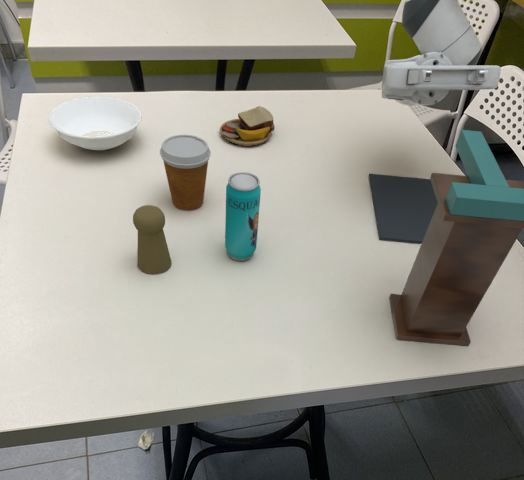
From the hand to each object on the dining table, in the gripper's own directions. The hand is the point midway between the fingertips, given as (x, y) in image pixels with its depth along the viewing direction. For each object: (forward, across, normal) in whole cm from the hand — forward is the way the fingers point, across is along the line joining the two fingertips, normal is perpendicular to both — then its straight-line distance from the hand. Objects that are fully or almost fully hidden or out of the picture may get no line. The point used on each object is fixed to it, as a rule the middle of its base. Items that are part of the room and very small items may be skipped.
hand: (455, 75), depth 81 cm
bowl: (-32, +68, -12) cm, 76 cm away
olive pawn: (+6, +52, -30) cm, 60 cm away
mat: (-15, 0, -24) cm, 28 cm away
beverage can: (+2, +36, -29) cm, 47 cm away
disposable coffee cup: (-12, +47, -22) cm, 53 cm away
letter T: (+21, +3, -14) cm, 25 cm away
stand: (+16, +5, -37) cm, 41 cm away
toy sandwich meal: (-40, +35, -11) cm, 54 cm away
